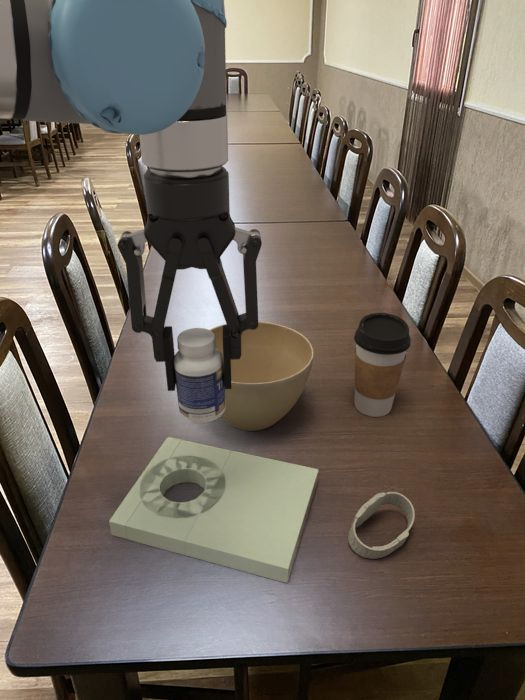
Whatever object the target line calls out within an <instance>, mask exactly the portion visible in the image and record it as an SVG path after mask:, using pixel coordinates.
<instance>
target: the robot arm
mask: <svg viewBox="0 0 525 700" xmlns="http://www.w3.org/2000/svg"><path fill="white" fill-rule="evenodd" d="M227 23H228V22H227V18H226V8H225V0H0V119H5V120H6V119H7V120H20V121H24V122H25V121H26V122H42V123H61V124H62V123H64V124H84V125H85V124H86V125H92V126H93V127H96V128H99V129H100V130H102V131H105V132H106V133H109V134H110V133H111V134H118V135H121V134H127V135H134V136H136V135H137V136H138V137H139V147H140V155H141V156H140V157H141V163H142V164H143V165H145V166H146V167H147V169H146V171H145V172H144V174H143V182H144V192H145V201H146V213H147V220H146V223H145V225H144V228H143V229H140V230H137V231H134V232H131V231H130V230H125V231H124V232H122V233H121V235H120V238H119V240H118V241H117V245H116V246H117V249H118V251H119V253H120V255H121V257H122V259H123V261H124V264H125V268H126V269H125V270H126V281H127V290H128V302H129V303H128V304H129V312H130V323H131V329H132V331H133V332H134V333H136V334H137V333H138V334H139V333H140V334H141V333H146V334H148V335H149V336H150V337H151V342H152V350H153V358H154V360H155V363H164V366H165V368H164V369H165V377H166V387H167V392H175V391H176V380H175V372H174V363H173V361H174V356H175V354H176V353H175V345H174V334H173V326H172V325H171V326H170V325H168V326H167V325H166V320H167V315H168V310H169V306H170V301H171V297H172V293H173V288H174V285H175V280H176V274H177V271H178V270H187V269H191V268H193V269H196V270H197V269H198V270H205V271H206V273H207V276H208V278H209V280H210V282H211V285H212V288H213V290H214V293H215V297H216V298H217V302H218V304H219V307H220V309H221V312H222V315H223V318H224V321H225V324H227V325H224V324H222V325H223V360H224V386H225V389H231V360H234V359H240V357H241V334H242V333H243V332H244V331H245V330H248V329H250V330H254V329H256V328H257V327H258V321H259V306H258V305H259V302H258V301H259V300H258V278H257V275H258V273H257V260H258V258H259V255H260V251H261V248H262V243H263V241H262V237H261V232H260V231H259V229H256V228H252V229H250V230H247V229H242V228H239V227H236V223H235V222H234V221H233V219H232V216H231V213H230V212H231V211H230V210H231V209H230V207H231V206H230V174H229V171H228V170H227V169H226V167H224V166H225V165H226V164H227V163H228V161H229V138H228V137H229V134H228V133H229V132H228V114H227V61H226V60H227V59H226V57H227V56H226V29H227V25H228V24H227ZM233 241H234V242H236V245H237V247H236V248H237V251H238V253H240V254H241V255H242V264H243V265H242V267H243V284H244V304H245V312H244V313H241V314H239V311H238V308H237V305H236V302H235V299H234V296H233V292H232V290H231V287H230V285H229V282H228V278H227V276H226V272H225V270H224V266H223V262H222V258H221V256H222V255H223V254H224V253H225V252H226V250H227V249H228V247H229V246H230V244H231V243H232V242H233ZM146 243H148V244H150V246H151V247H152V248H153V249H154V250H155V251H156V253H157V254H158V255H159V256H160V257H161V258H162V259H163V261H164V265H163V269H162V275H161V280H160V285H159V290H158V293H157V294H158V295H157V299H156V304H155V309H154V313H153V316H150V315H147V300H146V288H145V275H144V262H143V255H144V253H145V250H146Z"/></svg>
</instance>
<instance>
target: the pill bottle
mask: <svg viewBox="0 0 525 700" xmlns="http://www.w3.org/2000/svg"><path fill="white" fill-rule="evenodd" d="M176 341H177V352H176V353H175V356H174V361H173V363H174V372H175V380H176V386H175V390H176V397H177V405H178V412H179V414H180V416H181V418H183V419H184V420H185V421H187V422H190V423H195V424H205V423H210V422H213V421H215V420H217V419H219V418H221V417H220V416H221V415H222V414H223V413H224V411H225V407H226V404H225V403H226V402H225V386H224V366H223V356H222V354H221V352H220V351H219V350H218V349H217V348H216V341H215V335H214V333H213V332H212V331H210V329H208V328H204V327H192V328H187V329H185V330H183V331H181V332H180V333H179V334H178V335H177V337H176Z"/></svg>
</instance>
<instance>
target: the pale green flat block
mask: <svg viewBox="0 0 525 700" xmlns="http://www.w3.org/2000/svg"><path fill="white" fill-rule="evenodd" d="M318 481H319V468H316V467H311V466H304V465H301V464H296V463H292V462H286V461H283V460H277V459H272V458H268V457H263V456H259V455H255V454H250V453H249V454H248V453H246V452H240V451H235V450H231V449H226V448H222V447H217V446H212V445H208V444H203V443H199V442H195V441H190V440H185V439H180V438H175V437H171V436H166V438H165V440H164V441H163V443H162V444H161V445H160V447H159V448H158V450H157V451H156V452H155V454H154V456H153V457H152V458H151V460H150V461H149V463H148V464H147V465H146V467H145V469H144V470H143V471H142V473H141V474H140V475H139V477H138V479H137V480H136V481H135V483H134V484H133V485H132V487H131V488H130V490H129V491H128V493H127V494H126V496H125V497H124V498H123V500H122V501H121V503H120V504H119V505H118V508H117V509H116V510H115V511H114V513H113V514H112V516H111V517H110V519H109V521H108V523H109V529H110V534H111V536H114V537H118V538H120V539H125V540H128V541H131V542H135V543H138V544H143V545H145V546H150V547H154V548H157V549H160V550H164V551H168V552H171V553H174V554H179V555H183V556H187V557H190V558H193V559H197V560H200V561H205V562H208V563H212V564H216V565H219V566H224V567H226V568H230V569H234V570H238V571H241V572H244V573H247V574H248V573H249V574H252V575H255V576H260V577H263V578H266V579H270V580H275V581H277V582H282V583H285V584H288V583H289V580H290V576H291V574H292V570H293V567H294V563H295V561H296V560H295V559H296V557H297V553H298V549H299V546H300V543H301V540H302V537H303V532H304V531H305V530H304V529H305V526H306V523H307V519H308V516H309V513H310V509H311V506H312V503H313V499H314V496H315V493H316V489H317V486H318ZM182 483H184V484H185V483H191V484H195V485H198V486H199V487H201V488H202V489H203V492H202V493H201V494H199V495H198V496H196V498H194V499H191V500H189V501H182V502H176V501H173V500H169V499H168V498H166V497H165V496H164V494H165V493H166V491H167V490H169V489H171V487H173V486H175V485H178V484H182Z"/></svg>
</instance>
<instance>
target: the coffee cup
mask: <svg viewBox="0 0 525 700" xmlns="http://www.w3.org/2000/svg"><path fill="white" fill-rule="evenodd" d="M353 340H354V343H355V344H356V345H355V348H354V407H355V409H356V410H357V411H358V412H359V413H361V414H362V415H364V416H367V417H371V418H381V417H384V416H386V415H388V414H389V413H390V412H391V411H392V408H393V404H394V400H395V396H396V393H397V390H398V387H399V384H400V379H401V376H402V373H403V369H404V366H405V362H406V359H407V354H406V353H407V351H408V350H409V349H410V347H411V343H412V342H411V341H412V338H411V336H410V327H409V325H408V323H407V322H406V320H405V319H403V318H402V317H400V316H397V315H395V314H392V313H387V312H374V313H369V314H366V315H365V316H363V317H362V318H361V319H360V320H359V324H358V327H357V328H356V330H355V333H354V336H353Z"/></svg>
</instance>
